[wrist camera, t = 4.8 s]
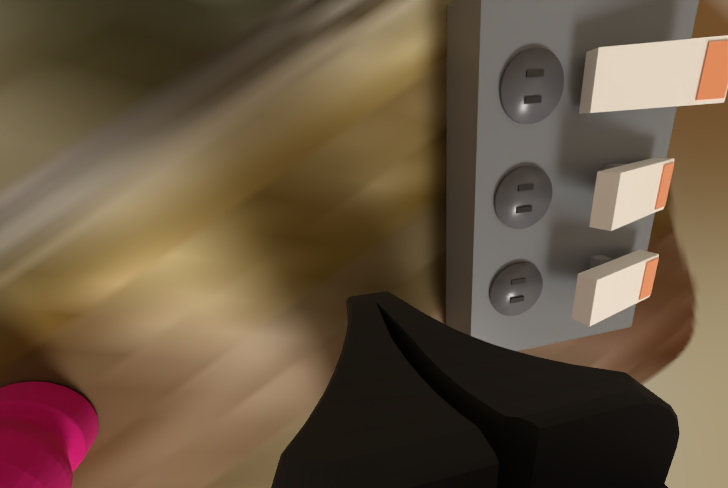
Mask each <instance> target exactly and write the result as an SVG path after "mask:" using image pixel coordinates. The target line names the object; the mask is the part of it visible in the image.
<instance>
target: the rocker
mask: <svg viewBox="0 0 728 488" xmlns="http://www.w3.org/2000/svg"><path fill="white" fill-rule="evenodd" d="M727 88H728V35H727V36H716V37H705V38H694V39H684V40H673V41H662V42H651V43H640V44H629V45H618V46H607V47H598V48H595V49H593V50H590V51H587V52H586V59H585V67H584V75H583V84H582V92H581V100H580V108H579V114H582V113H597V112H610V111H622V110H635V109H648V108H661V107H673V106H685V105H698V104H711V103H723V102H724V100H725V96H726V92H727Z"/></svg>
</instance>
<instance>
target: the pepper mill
mask: <svg viewBox="0 0 728 488" xmlns="http://www.w3.org/2000/svg"><path fill="white" fill-rule="evenodd" d="M97 433H98V419H97V414H96V412H95V411H94V409H93V407H92V405H91V404H90V403H89V402H88V401H87V400H86V399H85V398H84V397H83V396H82V395H80V394H78V393H76V392H75V391H73V390H71V389H69V388H67V387H64V386H60V385H57V384H53V383H50V382H36V381H30V382H21V383H14V384H10V385H7V386H4V387H1V388H0V488H72V476H73V474H72V472H73V471H74V470H75V469H76V468H77V467H78V465H79V464H80V463H81V461H82V460H83V458H84V456H85V455H86V453H87V452H88V450H89V448H90V447H91V445H92V444H93V442H94V440H95V438H96V436H97Z"/></svg>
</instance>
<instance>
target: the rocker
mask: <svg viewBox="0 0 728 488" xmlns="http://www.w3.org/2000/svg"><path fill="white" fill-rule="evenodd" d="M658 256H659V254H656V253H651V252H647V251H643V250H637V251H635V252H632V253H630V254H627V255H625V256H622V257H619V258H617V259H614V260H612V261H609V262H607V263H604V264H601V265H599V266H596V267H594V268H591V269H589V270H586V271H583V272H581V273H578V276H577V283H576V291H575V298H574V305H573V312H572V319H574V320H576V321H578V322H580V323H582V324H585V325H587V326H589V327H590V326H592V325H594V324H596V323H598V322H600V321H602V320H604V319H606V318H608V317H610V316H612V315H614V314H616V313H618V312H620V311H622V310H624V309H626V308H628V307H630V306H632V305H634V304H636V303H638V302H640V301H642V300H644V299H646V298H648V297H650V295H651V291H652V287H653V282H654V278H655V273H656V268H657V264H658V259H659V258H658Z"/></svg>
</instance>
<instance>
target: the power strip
mask: <svg viewBox="0 0 728 488" xmlns="http://www.w3.org/2000/svg"><path fill="white" fill-rule="evenodd" d="M698 2H699V0H454V1H453V2H452V3H450V4H449V5H448V6H447V146H446V325H447V326H449V327H451V328H453V329H456V330H458V331H460V332H462V333H465V334H467V335H470V336H472V337H475V338H477V339H480V340H483V341H485V342H488V343H491V344H494V345H497V346H500V347H503V348H507V349H510V350H513V351H519V350H524V349H529V348H533V347H538V346H543V345H548V344H552V343H557V342H562V341H566V340H571V339H576V338H580V337H585V336H590V335H595V334H599V333H604V332H609V331H613V330H618V329H623V328H628V327H631V326H632V321H633V316H634V311H635V306H636V304H634V305H632V306H630V307H628V308H626V309H624V310H622V311H620V312H618V313H616V314H614V315H612V316H610V317H608V318H606V319H604V320H602V321H600V322H598V323H596V324H594V325H592V326H590V327H589V326H587V325H585V324H582V323H580V322H578V321H576V320H574V319H572V312H573V305H574V298H575V291H576V283H577V276H578V273H581V272H583V271H586V270H589V269H591V268H594V267H596V266H599V265H601V264H604V263H607V262H609V261H612V260H614V259H617V258H619V257H622V256H625V255H627V254H630V253H632V252H635V251H637V250H643V251H647V248H648V244H649V239H650V234H651V229H652V224H653V219H654V215H655V213H652V214H650V215H648V216H645V217H643V218H641V219H638V220H636V221H634V222H631V223H629V224H627V225H624V226H622V227H620V228H617V229H615V230H613V231H608V230H603V229H597V228H592V227H589V225H590V218H591V211H592V205H593V198H594V191H595V184H596V177H597V172H598V171H602V170H606V169H610V168H614V167H618V166H622V165H626V164H630V163H634V162H638V161H642V160H646V159H650V158H666V157H667V152H668V147H669V142H670V137H671V132H672V127H673V123H674V118H675V113H676V109H677V106H673V107H661V108H648V109H635V110H622V111H610V112H597V113H582V114H579V108H580V100H581V92H582V84H583V75H584V67H585V59H586V52H587V51H590V50H593V49H595V48H598V47H607V46H618V45H629V44H640V43H651V42H662V41H673V40H684V39H691V36H692V31H693V27H694V22H695V17H696V12H697V7H698Z"/></svg>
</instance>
